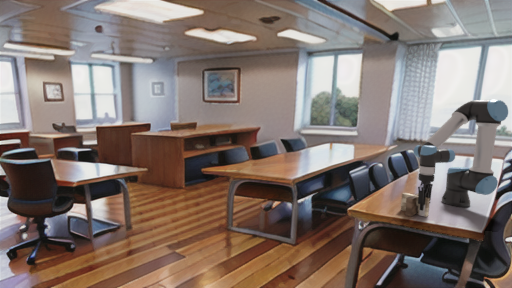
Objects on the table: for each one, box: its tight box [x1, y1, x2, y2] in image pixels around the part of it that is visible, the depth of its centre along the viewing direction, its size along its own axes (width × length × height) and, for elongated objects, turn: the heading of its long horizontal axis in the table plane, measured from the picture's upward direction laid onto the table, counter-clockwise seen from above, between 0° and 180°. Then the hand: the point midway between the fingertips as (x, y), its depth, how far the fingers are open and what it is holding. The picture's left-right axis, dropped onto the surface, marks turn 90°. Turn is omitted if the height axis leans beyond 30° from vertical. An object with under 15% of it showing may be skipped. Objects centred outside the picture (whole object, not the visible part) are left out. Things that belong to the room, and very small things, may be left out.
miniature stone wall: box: [404, 193, 418, 217], centre depth 171 cm, size 16×3×10 cm, turn 129°
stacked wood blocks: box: [400, 192, 431, 218], centre depth 171 cm, size 14×3×10 cm, turn 39°
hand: (423, 214), depth 168 cm, fingers closed on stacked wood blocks, 3 cm apart
